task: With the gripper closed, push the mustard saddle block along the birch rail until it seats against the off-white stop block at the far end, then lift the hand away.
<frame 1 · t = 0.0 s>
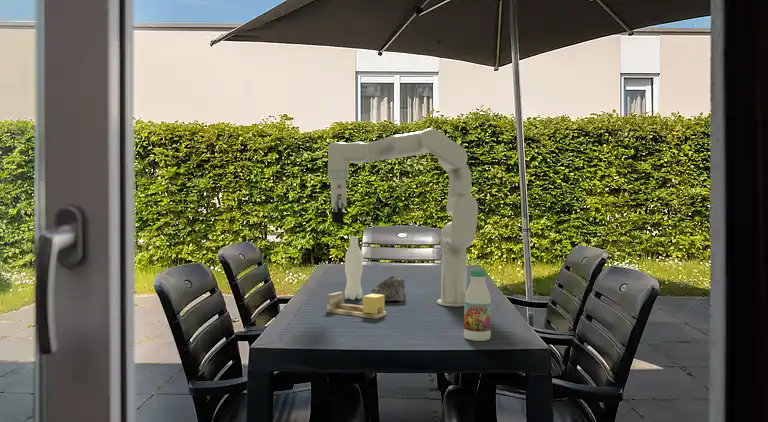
hand: (337, 222, 206), 31 cm above the table, tool pointing down, fingers open, 9 cm apart
water bottle: (353, 299, 224), on the table
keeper: (373, 303, 192), point 4 cm above the table, slide at 0.0 cm
mineral rock: (388, 301, 220), on the table
milk bottle: (477, 339, 163), on the table
rail: (356, 313, 196), on the table
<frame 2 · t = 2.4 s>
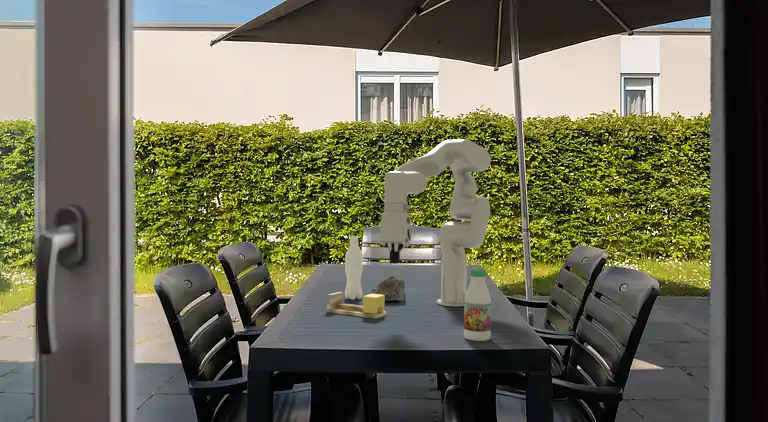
hand: (394, 262, 188), 19 cm above the table, tool pointing down, fingers closed
nothing on the table moved.
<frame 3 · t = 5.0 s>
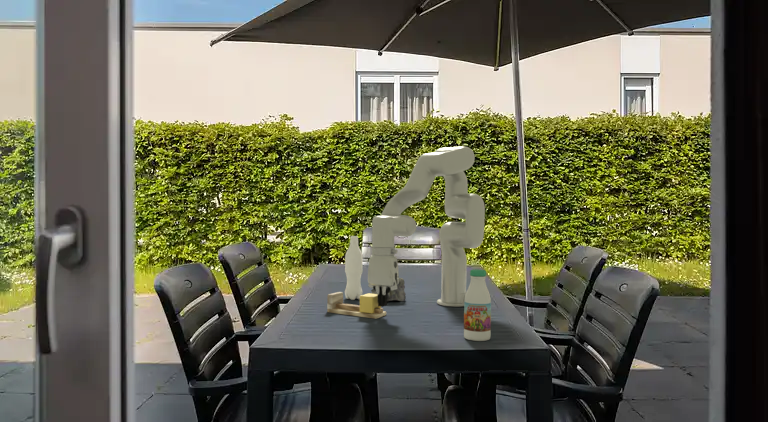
hand: (382, 305, 190), 4 cm above the table, tool pointing down, fingers closed
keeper: (370, 303, 193), point 4 cm above the table, slide at 1.4 cm, touching gripper
everything else where it was.
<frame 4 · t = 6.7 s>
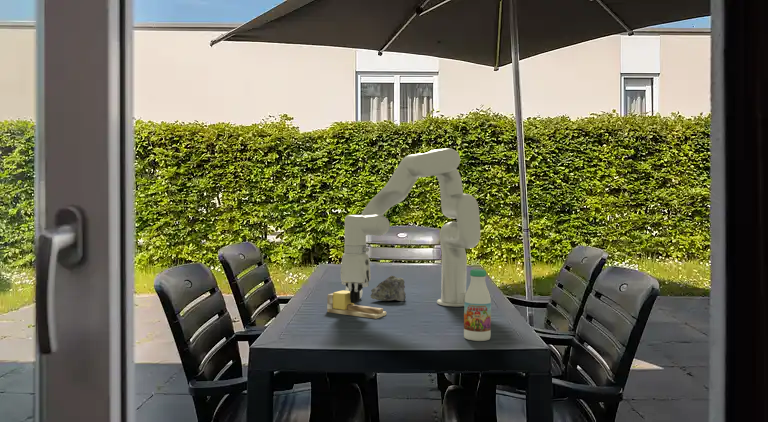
hand: (354, 302, 196), 4 cm above the table, tool pointing down, fingers closed
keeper: (343, 299, 198), point 4 cm above the table, slide at 12.5 cm, touching gripper, rail
everything else where it was.
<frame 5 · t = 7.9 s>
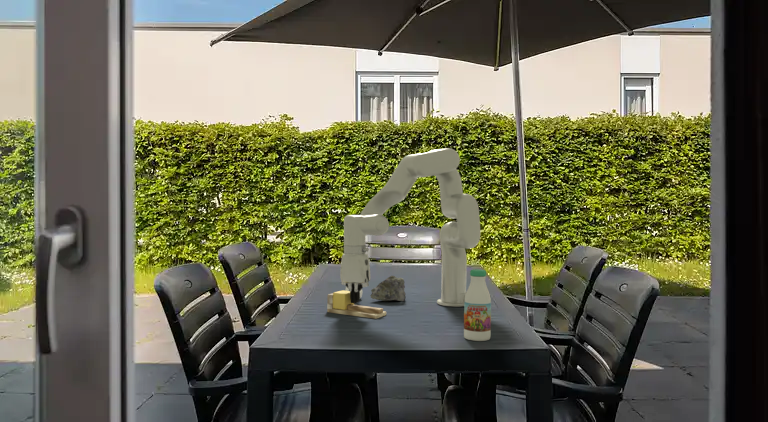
hand: (354, 302, 196), 4 cm above the table, tool pointing down, fingers closed
nothing on the table moved.
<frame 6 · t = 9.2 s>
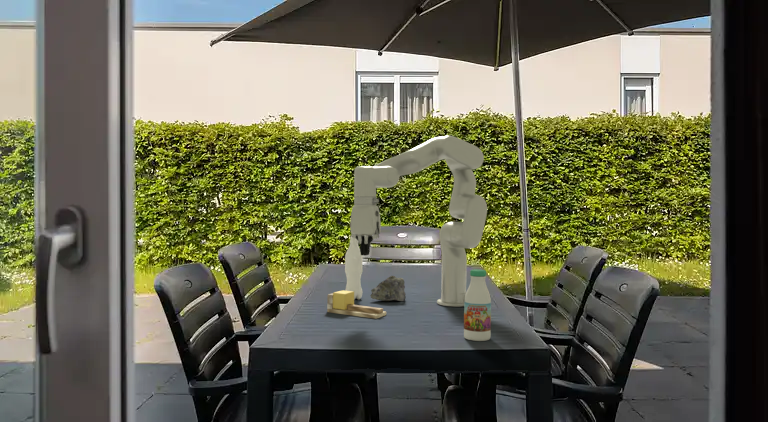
hand: (364, 254, 194), 21 cm above the table, tool pointing down, fingers closed
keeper: (343, 299, 198), point 4 cm above the table, slide at 12.5 cm
everything else where it was.
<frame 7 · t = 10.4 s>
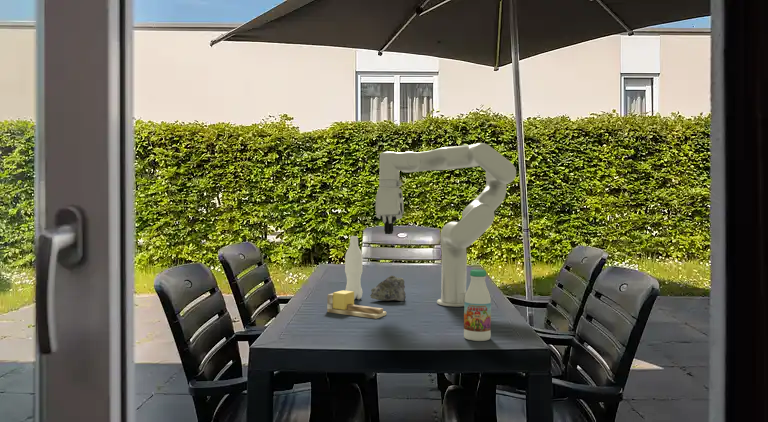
hand: (388, 233, 210), 27 cm above the table, tool pointing down, fingers closed
nothing on the table moved.
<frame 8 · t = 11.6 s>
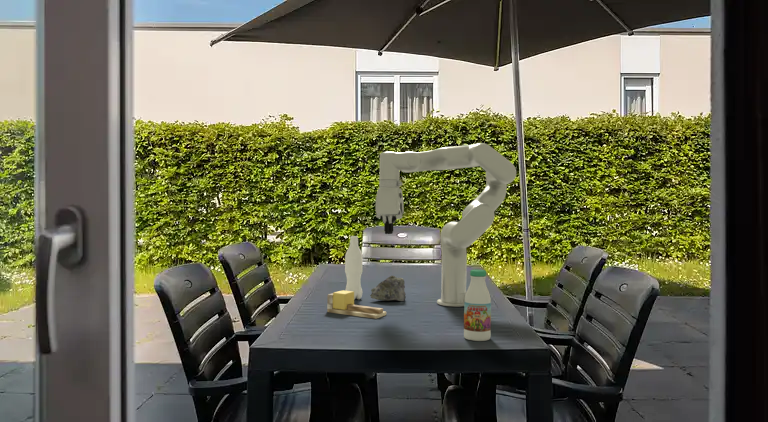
hand: (388, 233, 210), 27 cm above the table, tool pointing down, fingers closed
nothing on the table moved.
at the end: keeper slide at 12.5 cm; the gripper is holding nothing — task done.
